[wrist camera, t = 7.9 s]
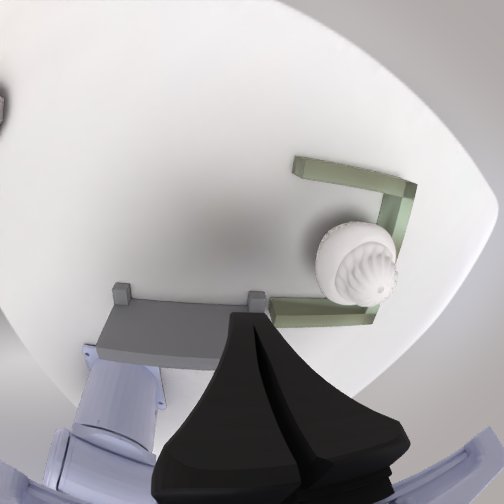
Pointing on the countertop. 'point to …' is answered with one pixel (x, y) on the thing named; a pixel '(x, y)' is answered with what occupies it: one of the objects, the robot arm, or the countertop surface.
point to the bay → (390, 218)
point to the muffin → (356, 264)
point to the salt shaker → (1, 109)
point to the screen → (168, 331)
